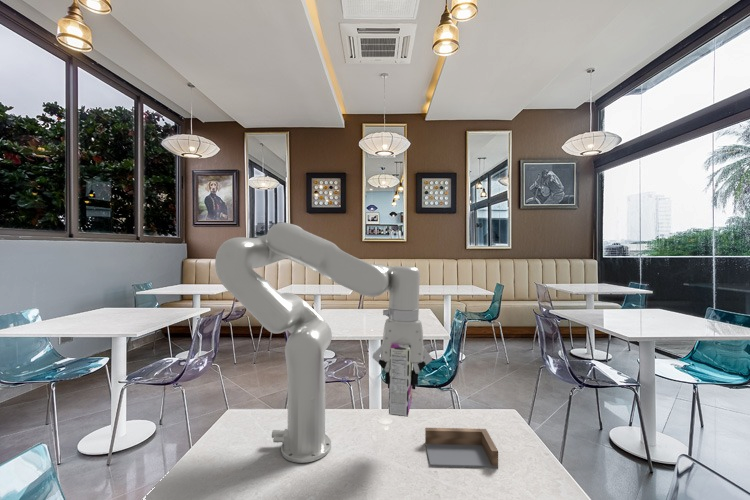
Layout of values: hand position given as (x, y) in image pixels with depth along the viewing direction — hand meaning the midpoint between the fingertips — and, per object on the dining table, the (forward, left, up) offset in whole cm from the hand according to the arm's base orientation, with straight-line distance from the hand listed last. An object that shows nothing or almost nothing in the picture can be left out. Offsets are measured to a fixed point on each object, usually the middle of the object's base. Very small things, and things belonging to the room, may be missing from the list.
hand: (401, 386), depth 86 cm
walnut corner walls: (+15, 0, -17) cm, 22 cm away
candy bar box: (0, 0, -5) cm, 5 cm away
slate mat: (+15, 0, -17) cm, 22 cm away
